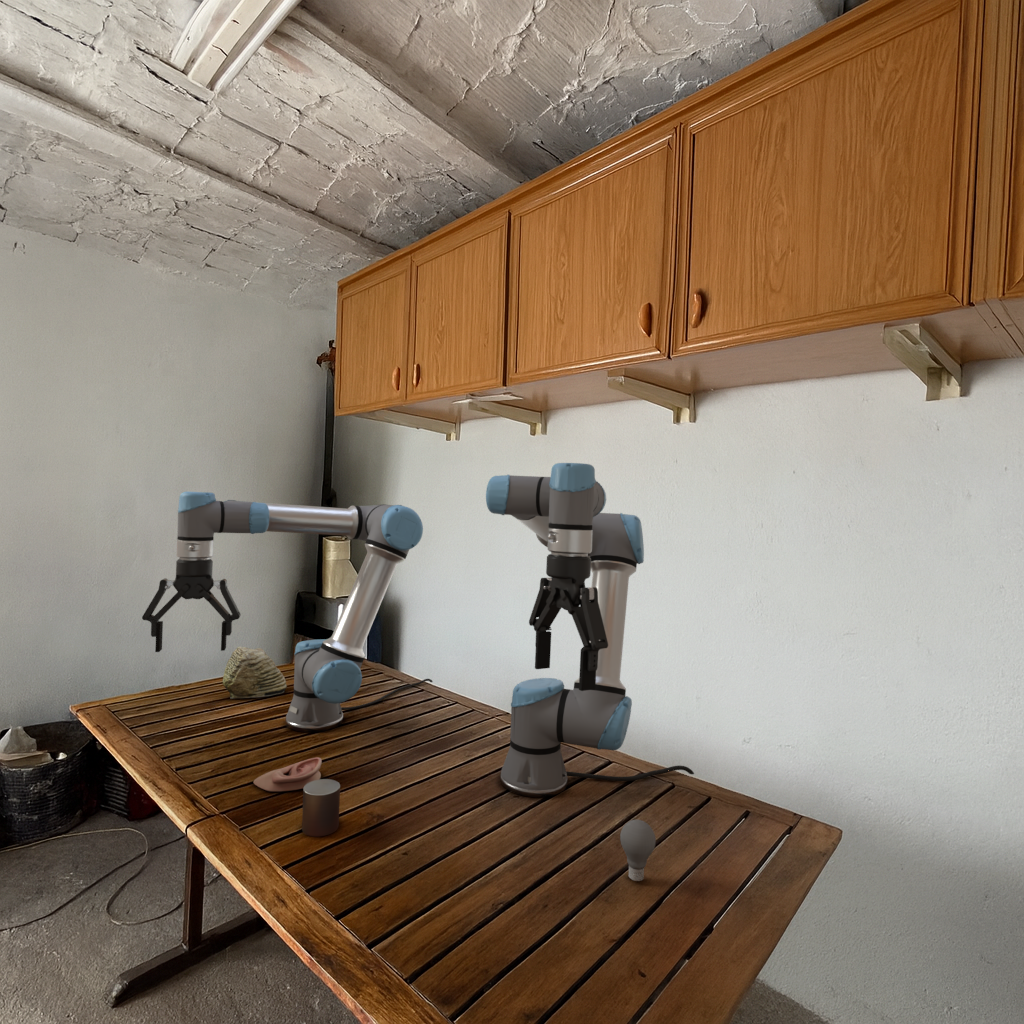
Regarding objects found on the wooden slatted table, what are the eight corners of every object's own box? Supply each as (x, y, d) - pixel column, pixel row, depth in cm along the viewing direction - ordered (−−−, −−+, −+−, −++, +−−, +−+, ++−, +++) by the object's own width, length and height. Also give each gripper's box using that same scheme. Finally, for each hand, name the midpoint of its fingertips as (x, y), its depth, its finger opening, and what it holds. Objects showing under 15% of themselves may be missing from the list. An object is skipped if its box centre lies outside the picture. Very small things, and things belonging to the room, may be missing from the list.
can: (319, 815, 126) (320, 776, 126) (345, 824, 123) (347, 783, 123) (294, 830, 120) (295, 789, 120) (321, 840, 117) (323, 798, 117)
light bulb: (614, 869, 112) (617, 812, 111) (647, 868, 112) (650, 813, 112) (623, 890, 106) (626, 830, 105) (658, 889, 106) (661, 830, 106)
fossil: (218, 695, 195) (220, 647, 195) (278, 685, 208) (279, 640, 207) (228, 703, 189) (230, 653, 188) (289, 692, 201) (290, 645, 201)
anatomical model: (245, 769, 136) (276, 749, 147) (245, 787, 136) (275, 766, 147) (302, 777, 133) (328, 756, 144) (301, 796, 133) (328, 773, 144)
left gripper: (129, 559, 139) (125, 655, 139) (251, 561, 146) (247, 652, 146) (138, 555, 146) (135, 647, 146) (254, 557, 153) (251, 645, 154)
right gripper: (513, 547, 117) (508, 662, 117) (595, 562, 95) (589, 702, 95) (548, 547, 120) (543, 658, 121) (634, 561, 99) (628, 697, 99)
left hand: (191, 650), depth 146 cm, fingers open, 13 cm apart
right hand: (563, 678), depth 108 cm, fingers open, 13 cm apart
